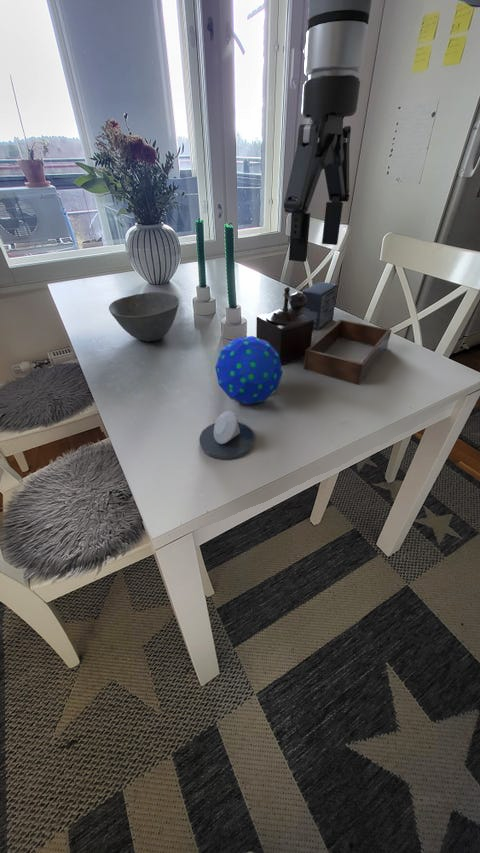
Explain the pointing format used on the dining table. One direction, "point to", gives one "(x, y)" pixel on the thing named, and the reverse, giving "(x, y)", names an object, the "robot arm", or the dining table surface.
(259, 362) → the blue polka dot ball
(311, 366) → the open box
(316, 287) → the small box
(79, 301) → the dining table surface
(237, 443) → the coaster
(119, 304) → the bowl
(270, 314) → the pepper mill
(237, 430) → the gemstone
